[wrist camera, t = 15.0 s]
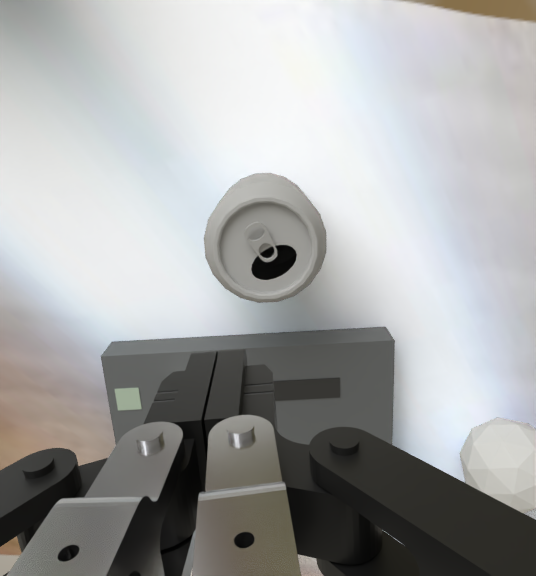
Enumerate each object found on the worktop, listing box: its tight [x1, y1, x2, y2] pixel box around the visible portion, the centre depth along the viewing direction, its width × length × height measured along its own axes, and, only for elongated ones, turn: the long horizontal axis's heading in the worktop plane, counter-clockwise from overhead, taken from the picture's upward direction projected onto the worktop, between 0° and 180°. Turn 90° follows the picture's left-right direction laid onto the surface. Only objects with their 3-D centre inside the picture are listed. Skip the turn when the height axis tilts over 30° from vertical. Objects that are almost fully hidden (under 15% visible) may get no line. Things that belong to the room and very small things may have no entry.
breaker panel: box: [101, 327, 395, 445], centre depth 43 cm, size 24×18×3 cm
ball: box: [460, 417, 536, 513], centre depth 41 cm, size 8×8×8 cm
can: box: [204, 173, 326, 303], centre depth 33 cm, size 8×8×12 cm
